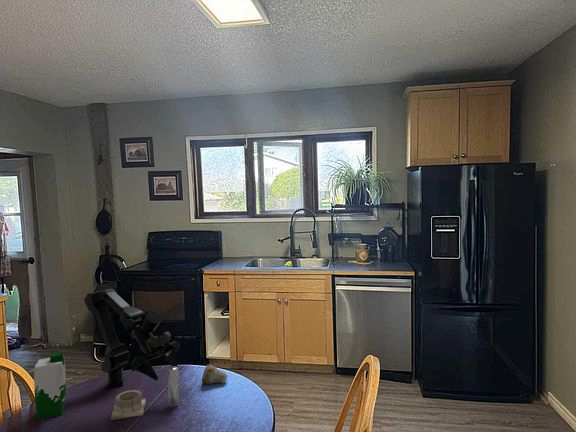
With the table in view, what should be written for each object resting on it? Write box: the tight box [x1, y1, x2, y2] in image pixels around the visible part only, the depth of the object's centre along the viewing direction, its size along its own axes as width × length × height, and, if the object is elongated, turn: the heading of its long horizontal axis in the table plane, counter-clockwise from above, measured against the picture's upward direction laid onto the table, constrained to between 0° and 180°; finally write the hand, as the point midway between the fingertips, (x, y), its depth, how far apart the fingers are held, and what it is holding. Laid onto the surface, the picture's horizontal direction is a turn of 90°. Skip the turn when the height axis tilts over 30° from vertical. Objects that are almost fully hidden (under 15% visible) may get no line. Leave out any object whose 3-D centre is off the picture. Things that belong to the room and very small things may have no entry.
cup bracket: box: [110, 389, 146, 421], centre depth 133 cm, size 10×10×5 cm
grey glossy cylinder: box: [167, 366, 180, 408], centre depth 136 cm, size 4×4×13 cm
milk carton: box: [33, 351, 67, 420], centre depth 132 cm, size 9×9×20 cm
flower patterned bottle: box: [201, 364, 228, 385], centre depth 153 cm, size 8×10×10 cm
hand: (167, 374), depth 137 cm, fingers open, 9 cm apart
